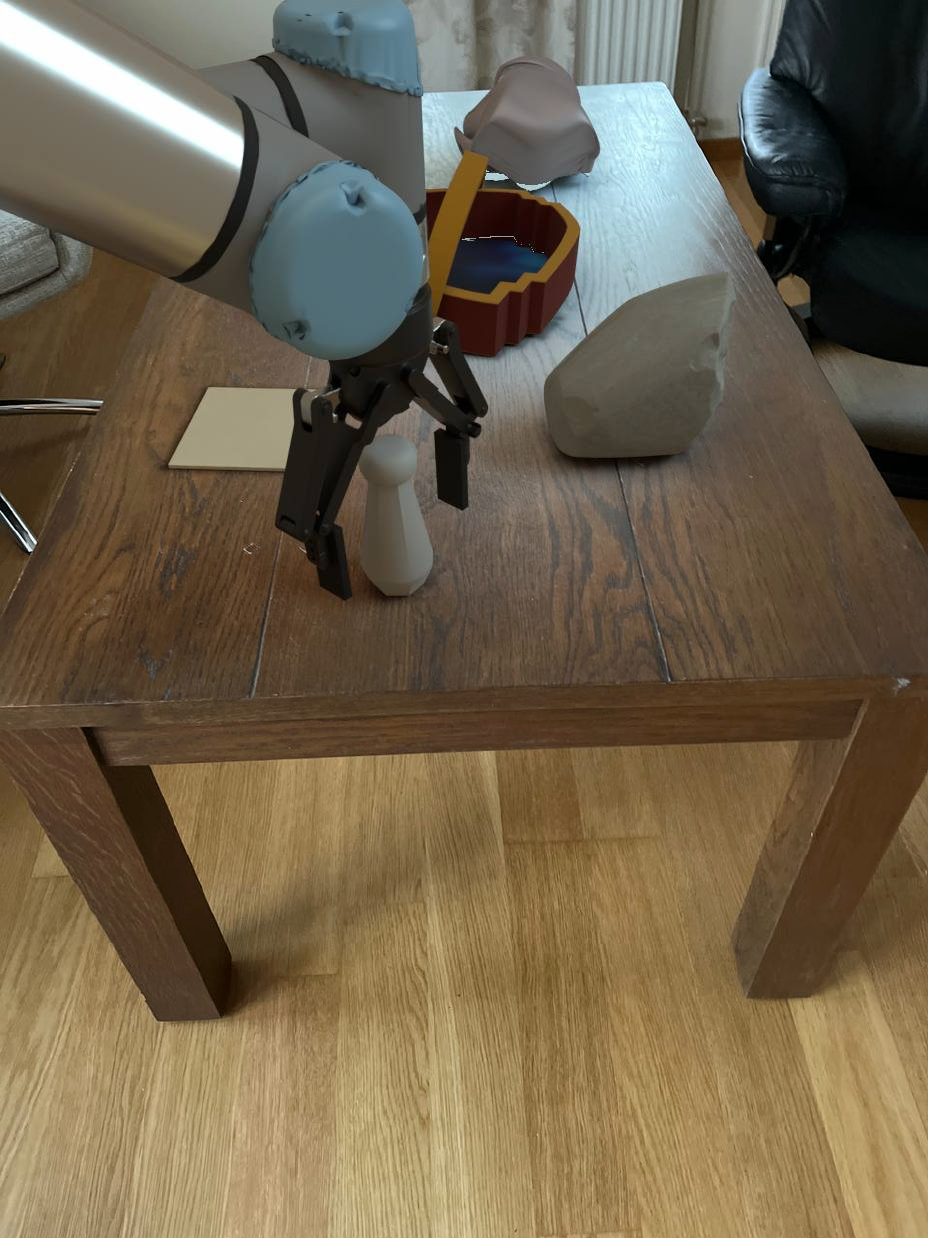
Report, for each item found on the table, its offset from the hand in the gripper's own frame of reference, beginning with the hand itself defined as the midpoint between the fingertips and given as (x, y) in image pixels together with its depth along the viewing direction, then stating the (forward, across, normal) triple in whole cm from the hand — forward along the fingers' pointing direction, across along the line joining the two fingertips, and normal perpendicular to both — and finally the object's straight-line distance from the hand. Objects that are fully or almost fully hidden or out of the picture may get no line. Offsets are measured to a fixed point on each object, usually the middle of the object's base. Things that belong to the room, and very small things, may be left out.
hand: (397, 545), depth 75 cm
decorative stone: (+4, +29, -4) cm, 29 cm away
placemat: (+4, +8, +26) cm, 27 cm away
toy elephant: (+4, +76, +45) cm, 88 cm away
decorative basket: (+4, +43, +30) cm, 53 cm away
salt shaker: (+4, 0, 0) cm, 4 cm away
